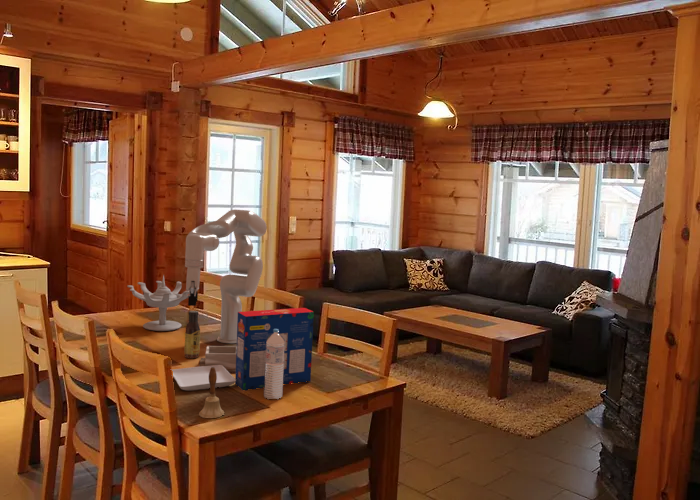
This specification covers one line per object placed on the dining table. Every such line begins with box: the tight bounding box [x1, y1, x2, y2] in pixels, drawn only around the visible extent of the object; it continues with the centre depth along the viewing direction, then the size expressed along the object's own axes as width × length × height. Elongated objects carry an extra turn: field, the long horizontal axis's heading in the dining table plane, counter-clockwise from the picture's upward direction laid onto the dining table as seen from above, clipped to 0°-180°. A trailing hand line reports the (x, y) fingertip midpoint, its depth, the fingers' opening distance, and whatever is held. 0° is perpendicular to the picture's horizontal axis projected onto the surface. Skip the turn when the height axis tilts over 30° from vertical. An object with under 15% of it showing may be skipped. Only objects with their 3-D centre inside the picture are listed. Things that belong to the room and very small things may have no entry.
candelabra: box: [127, 274, 200, 332], centre depth 320 cm, size 34×35×27 cm
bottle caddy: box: [198, 345, 237, 374], centre depth 263 cm, size 18×18×7 cm
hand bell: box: [198, 367, 225, 419], centre depth 210 cm, size 8×8×16 cm
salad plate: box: [171, 365, 236, 391], centre depth 242 cm, size 21×21×3 cm
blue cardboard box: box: [234, 307, 315, 391], centre depth 244 cm, size 28×8×28 cm, turn 121°
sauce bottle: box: [183, 310, 201, 359], centre depth 273 cm, size 7×6×20 cm
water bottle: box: [263, 329, 285, 400], centre depth 229 cm, size 7×7×25 cm
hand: (192, 303), depth 271 cm, fingers open, 9 cm apart
